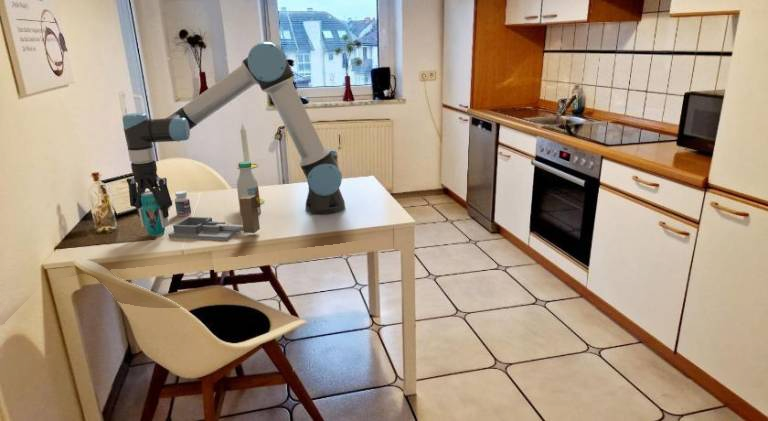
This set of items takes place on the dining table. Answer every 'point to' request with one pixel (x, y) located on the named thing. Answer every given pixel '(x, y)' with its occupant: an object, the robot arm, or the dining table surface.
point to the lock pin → (245, 216)
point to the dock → (201, 229)
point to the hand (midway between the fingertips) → (155, 225)
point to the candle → (246, 151)
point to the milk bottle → (247, 183)
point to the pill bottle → (182, 204)
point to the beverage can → (151, 214)
